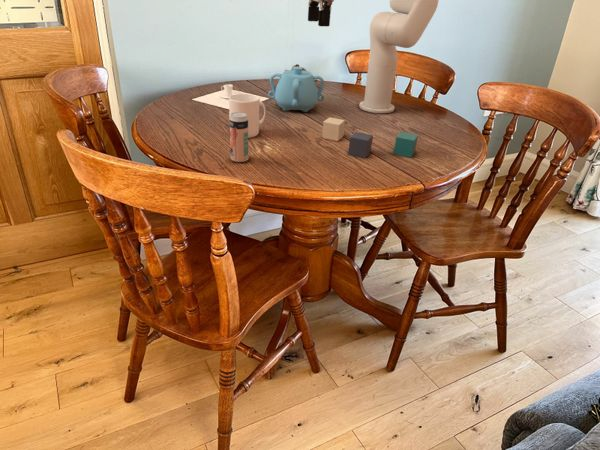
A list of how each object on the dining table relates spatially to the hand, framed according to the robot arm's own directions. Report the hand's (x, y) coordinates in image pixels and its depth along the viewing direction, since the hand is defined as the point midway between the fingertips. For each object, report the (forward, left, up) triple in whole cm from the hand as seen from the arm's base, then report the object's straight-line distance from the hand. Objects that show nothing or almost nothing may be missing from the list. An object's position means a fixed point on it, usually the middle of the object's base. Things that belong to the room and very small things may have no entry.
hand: (318, 23), depth 134 cm
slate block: (+17, +22, -30) cm, 40 cm away
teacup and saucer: (-8, -35, -30) cm, 47 cm away
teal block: (+10, +33, -30) cm, 45 cm away
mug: (+19, -12, -30) cm, 37 cm away
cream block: (+9, +11, -30) cm, 33 cm away
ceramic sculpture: (-39, -23, -30) cm, 55 cm away
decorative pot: (-12, -11, -30) cm, 34 cm away
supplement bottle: (+38, -4, -30) cm, 48 cm away
